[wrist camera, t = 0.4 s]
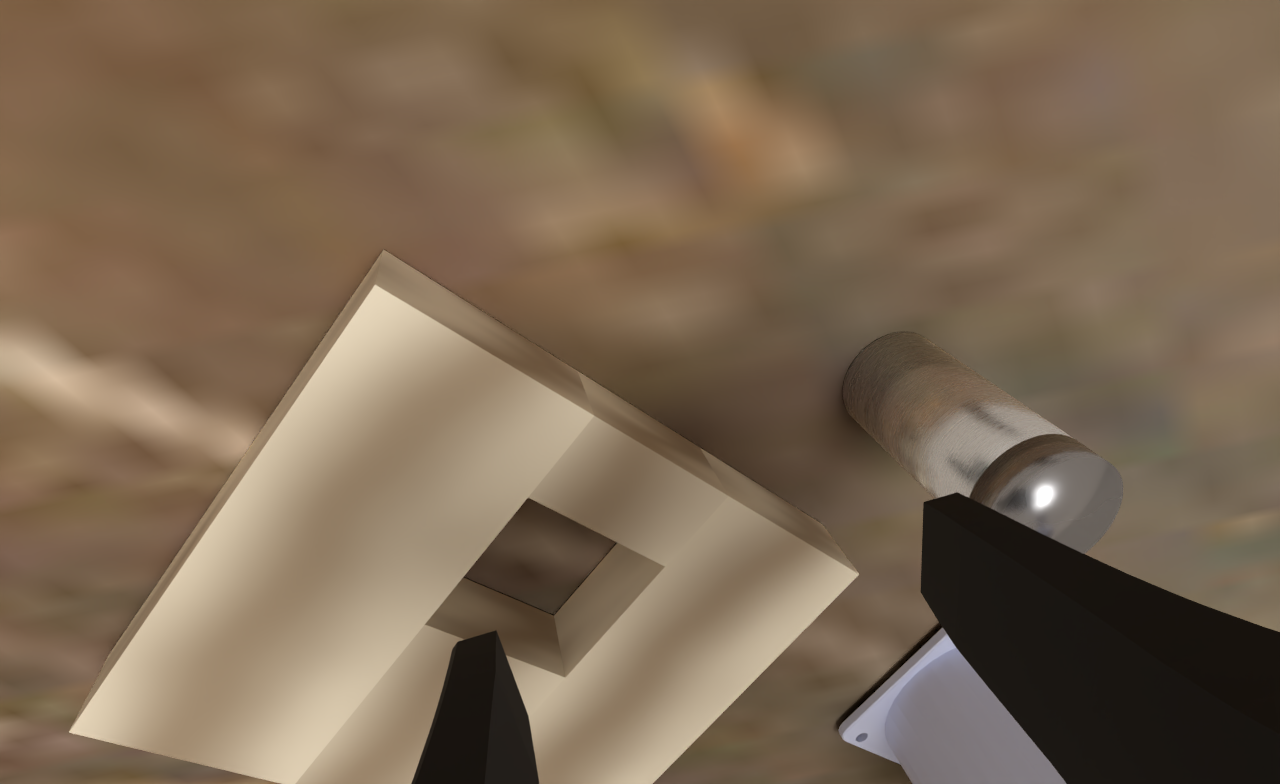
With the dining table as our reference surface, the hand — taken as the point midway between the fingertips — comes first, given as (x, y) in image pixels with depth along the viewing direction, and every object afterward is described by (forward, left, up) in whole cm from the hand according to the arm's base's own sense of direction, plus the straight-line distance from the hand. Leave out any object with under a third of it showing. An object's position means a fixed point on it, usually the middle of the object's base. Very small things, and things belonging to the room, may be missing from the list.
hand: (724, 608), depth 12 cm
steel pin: (-8, -5, -9) cm, 13 cm away
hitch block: (-2, +7, -9) cm, 12 cm away
